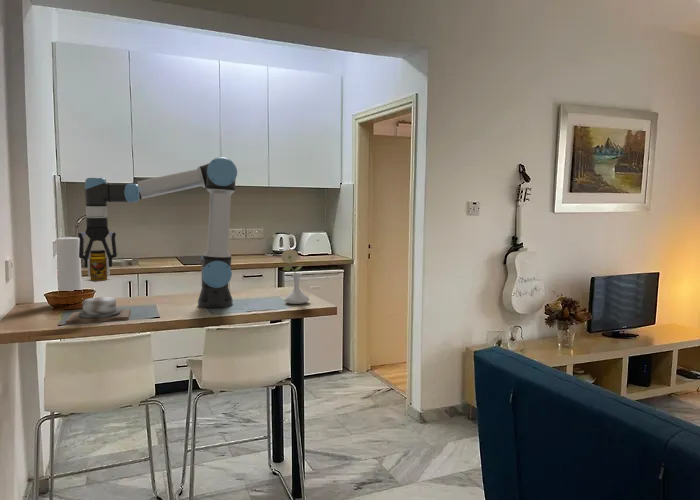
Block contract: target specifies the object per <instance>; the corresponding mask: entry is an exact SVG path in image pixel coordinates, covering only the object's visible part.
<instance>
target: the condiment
mask: <svg viewBox="0 0 700 500" xmlns="http://www.w3.org/2000/svg"><path fill="white" fill-rule="evenodd" d="M89 259H90V276H89V277H90V278H89V279H87V278H86V279H85V281H88V282H92V283H93V282H94V283H96V282H97V283H98V282H104V281H110V280H113V279H112V278H108V276H107V263H106V259H107V256H106V251H105V249H93V250H92V249H91V251H90V254H89Z"/></svg>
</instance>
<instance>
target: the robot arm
mask: <svg viewBox="0 0 700 500" xmlns="http://www.w3.org/2000/svg"><path fill="white" fill-rule="evenodd" d="M237 176H238V169H237V165H236V164H235V163H234V162H233V161H232V160H231V159H229V158H227V157H219V156H218V157H216V158H213V159H212V160H211V161H210V162H209V163H206V164H203V165H198V167H197V168H196V169H191V170H186V171H181V172H176V173H171V174H167V175H163V176H162V175H161V176H158V177H157V176H156V177H153V178H148V179H143V180H139V181H134V182H128V183H123V182H122V183H121V182H119V183H113V182H111V183H110V182H107V180H106V178H104V177H87V178H86V179H85V181H84V182H85V184H84V185H85V186H84V193H85V216H86V217H87V218H86V219H85V221H86V229H85V231H83V232H79V233H77V235H78V238H79V239H80V244H79V258H81V260H82V259H83V260H84V268H87V276H88V277H90V255H91V251H92V248H93V244H94V242H97V241H98V242H101V243H102V246H103V248H104V250H105V254H106V255H107V256H106V257H107V258H106V263H107V277H109V276H110V274H111V273H110V270H111V269H110V268H112V267H113V258H116V257H118V256H117V255H118V253H117V252H118V251H117V242H116V236H117V232H116V231H115V232H113V231H110V230H109V224H108V218H107V217H108V203H130V204H131V203H138V202H139V201H141V200H143V199H149V198H152V197H157V196H161V195H166V194H170V193H175V192H180V191H186V190H189V189H193V188H198V187H202V188H204V189H205V188H206V192H208V193H209V205H208V206H209V207H208V208H209V209H208V210H209V211H208V226H207V244H206V245H207V248H206V251H205V252H204V253H203V254H202V255H201V257H200V264H201V265H200V272H201V290H200V293H199V297H198V299H197V306H198V307H200V308H205V309H207V308H208V309H217V308H219V309H220V308H225V307H230V306H232V305H233V301H234V300H233V297H232V294H231V291H230V288H229V283H230V281H231V279H232V275H233V271H232V255H231V254H230V252H229V239H230V238H229V237H230V223H231V222H230V217H231V205H232V204H231V203H232V195H233V194H234V193H235V192H236V180H237ZM108 235H109V238H110V239H111V249H112V252H111V250H110V247H109V245H108V242H107V240H106V238H107V237H108ZM86 236H87V238H89V241H88V244H87V248H86V251H85V255H84V249H85V248H84V246H85V238H86Z"/></svg>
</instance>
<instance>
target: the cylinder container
mask: <svg viewBox="0 0 700 500" xmlns="http://www.w3.org/2000/svg"><path fill="white" fill-rule="evenodd" d="M79 244H80V239H79V237H75V236H73V237H72V236H64V237H57V238H56V239H55V245H56V246H55V247H56V260H57V261H56V263H57V282H58V283H57V284H58V286H57V287H58V292H59V291H74V290H82V291H83V283H82V282H83V280H82V277H83V276H82V261H81V260H82V258H79Z"/></svg>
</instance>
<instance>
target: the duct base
mask: <svg viewBox="0 0 700 500" xmlns="http://www.w3.org/2000/svg"><path fill="white" fill-rule="evenodd" d="M131 313H132V309H131V308H129V309H128V308H127V309H125V308H124V309H119V308H117V298H116V297H111V296H97V297H91V298H90V297H89V298H85V299H83V302H82V311H77V312H76V311H75V312H71V314H70V315H69V316H68V317H67V318H66V320H65V324H66V325H67V324H68V325H69V324H83V323H85V324H86V323H98V322H101V323H102V322H115V321H128V320H130V316H131Z"/></svg>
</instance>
